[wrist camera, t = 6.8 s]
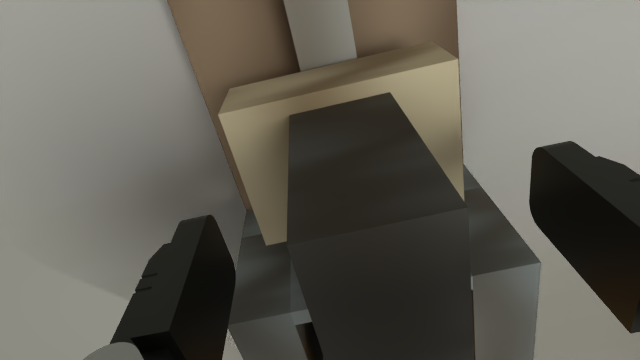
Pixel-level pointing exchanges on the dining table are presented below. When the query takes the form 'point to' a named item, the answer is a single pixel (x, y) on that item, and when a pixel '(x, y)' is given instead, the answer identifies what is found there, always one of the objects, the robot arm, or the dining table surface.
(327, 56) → the stand
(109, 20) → the dining table surface
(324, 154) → the carriage
